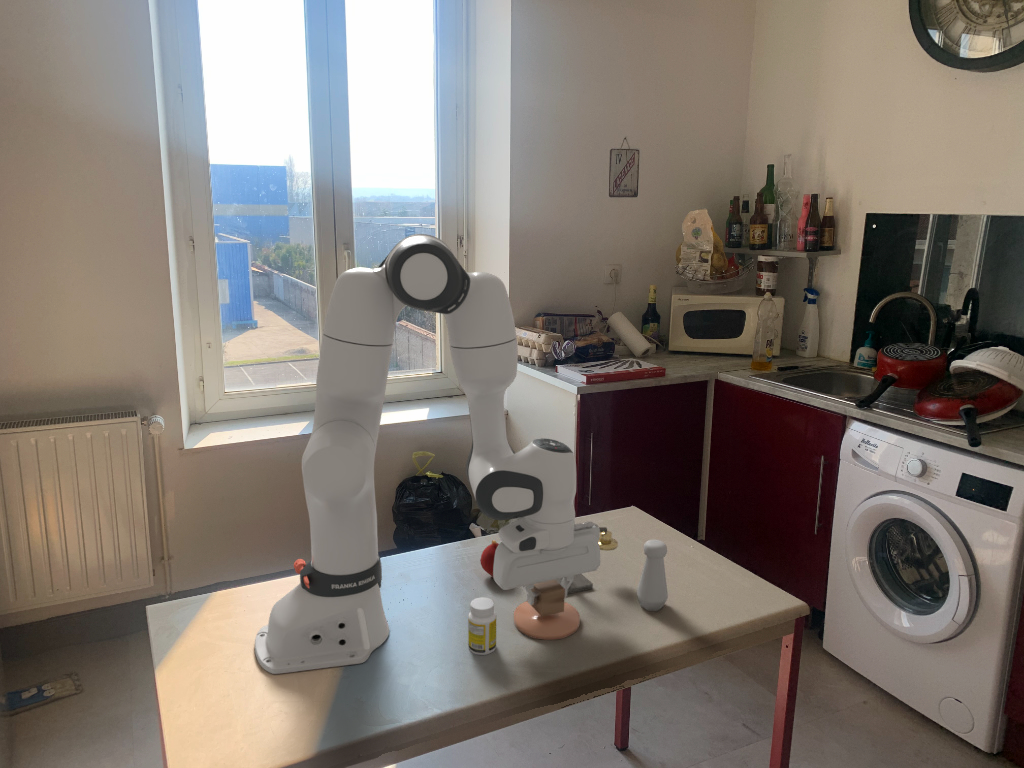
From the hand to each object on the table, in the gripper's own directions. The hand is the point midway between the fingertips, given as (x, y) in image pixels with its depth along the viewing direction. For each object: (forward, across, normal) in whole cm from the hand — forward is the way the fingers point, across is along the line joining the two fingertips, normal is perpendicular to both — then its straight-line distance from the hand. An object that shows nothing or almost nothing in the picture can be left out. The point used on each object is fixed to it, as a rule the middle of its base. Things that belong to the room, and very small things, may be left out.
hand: (546, 599), depth 133 cm
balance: (+4, -10, -10) cm, 15 cm away
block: (+2, 0, 0) cm, 2 cm away
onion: (+4, +2, -19) cm, 20 cm away
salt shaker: (+4, -21, +3) cm, 22 cm away
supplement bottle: (+4, +14, +3) cm, 15 cm away
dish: (+4, 0, 0) cm, 4 cm away
